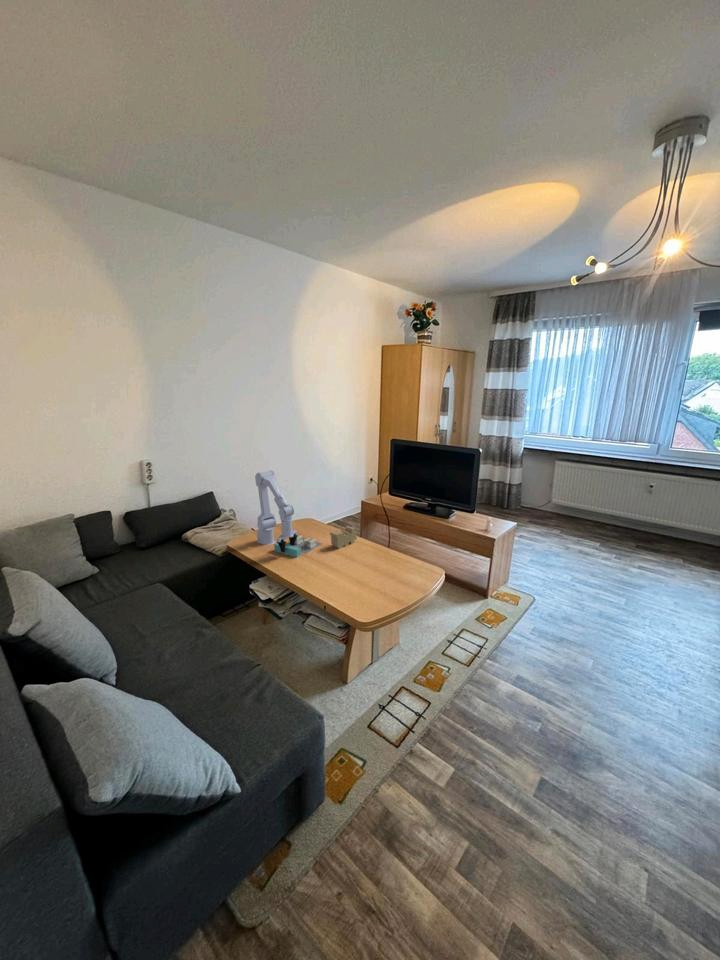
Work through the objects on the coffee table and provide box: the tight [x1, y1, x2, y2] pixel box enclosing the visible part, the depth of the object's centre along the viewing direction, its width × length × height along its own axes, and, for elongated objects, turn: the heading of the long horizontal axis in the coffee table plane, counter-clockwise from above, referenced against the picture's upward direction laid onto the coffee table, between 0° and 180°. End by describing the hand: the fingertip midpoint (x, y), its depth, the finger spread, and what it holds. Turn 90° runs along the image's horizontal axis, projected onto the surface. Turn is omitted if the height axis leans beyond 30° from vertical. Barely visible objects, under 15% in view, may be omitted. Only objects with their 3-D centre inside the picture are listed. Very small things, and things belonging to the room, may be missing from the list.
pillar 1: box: [295, 533, 304, 545], centre depth 228 cm, size 5×5×4 cm
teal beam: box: [273, 542, 302, 558], centre depth 214 cm, size 16×4×5 cm, turn 62°
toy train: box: [329, 525, 358, 549], centre depth 226 cm, size 6×17×10 cm, turn 136°
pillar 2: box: [304, 537, 317, 549], centre depth 223 cm, size 5×5×4 cm
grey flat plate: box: [286, 537, 323, 554], centre depth 226 cm, size 18×16×1 cm
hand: (287, 549), depth 214 cm, fingers open, 7 cm apart
